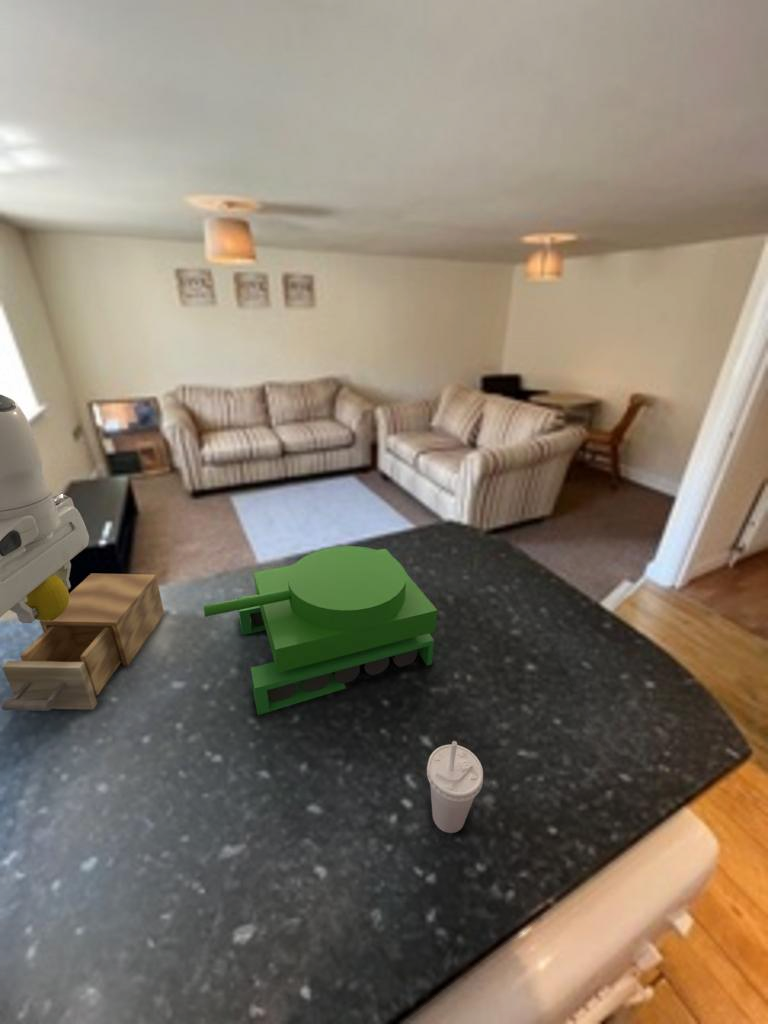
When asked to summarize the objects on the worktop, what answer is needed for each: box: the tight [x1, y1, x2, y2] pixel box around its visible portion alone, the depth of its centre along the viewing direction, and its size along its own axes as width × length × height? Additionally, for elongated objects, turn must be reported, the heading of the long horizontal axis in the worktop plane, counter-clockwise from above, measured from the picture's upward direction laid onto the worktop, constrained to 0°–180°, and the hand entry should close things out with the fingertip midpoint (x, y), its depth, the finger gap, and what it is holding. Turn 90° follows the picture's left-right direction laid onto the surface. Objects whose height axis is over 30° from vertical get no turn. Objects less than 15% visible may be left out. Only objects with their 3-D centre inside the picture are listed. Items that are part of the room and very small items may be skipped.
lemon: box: [25, 574, 70, 621], centre depth 64 cm, size 6×6×8 cm
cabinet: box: [39, 572, 165, 667], centre depth 80 cm, size 14×12×10 cm
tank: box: [203, 545, 438, 716], centre depth 78 cm, size 24×35×16 cm
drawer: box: [1, 625, 122, 712], centre depth 69 cm, size 18×11×8 cm, turn 0°
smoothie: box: [426, 740, 484, 834], centre depth 52 cm, size 6×6×14 cm
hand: (47, 604), depth 65 cm, fingers closed on lemon, 5 cm apart
